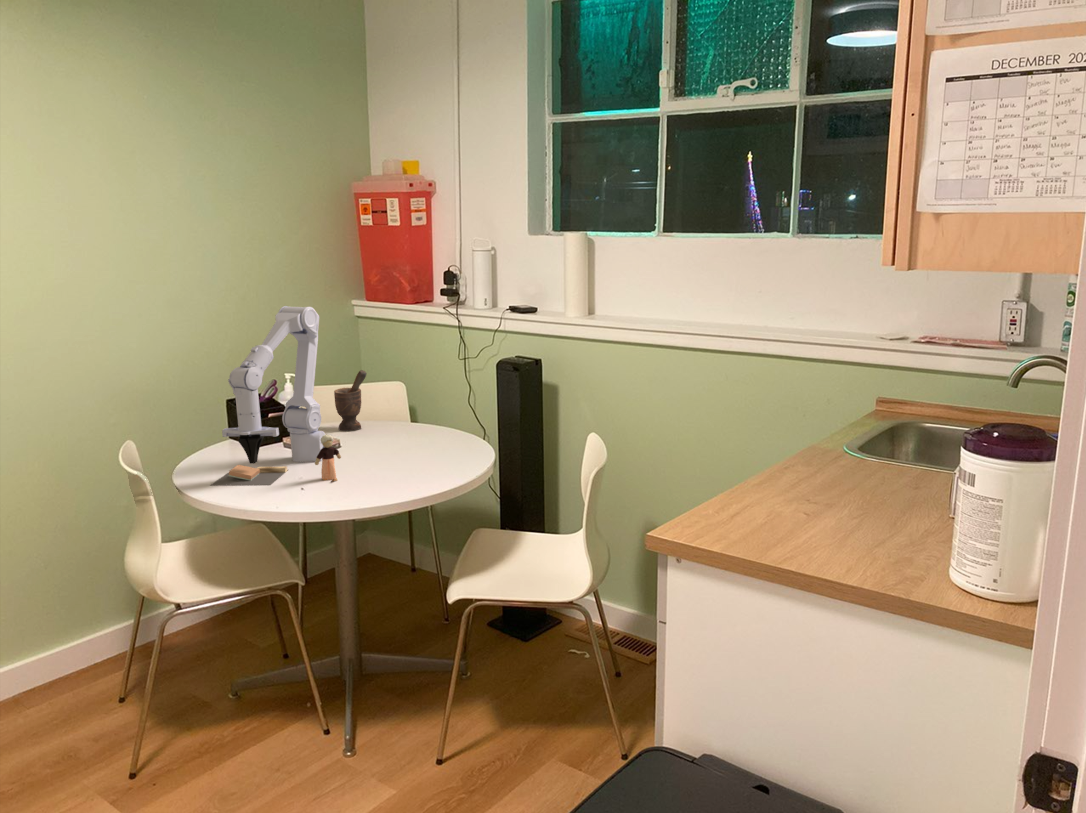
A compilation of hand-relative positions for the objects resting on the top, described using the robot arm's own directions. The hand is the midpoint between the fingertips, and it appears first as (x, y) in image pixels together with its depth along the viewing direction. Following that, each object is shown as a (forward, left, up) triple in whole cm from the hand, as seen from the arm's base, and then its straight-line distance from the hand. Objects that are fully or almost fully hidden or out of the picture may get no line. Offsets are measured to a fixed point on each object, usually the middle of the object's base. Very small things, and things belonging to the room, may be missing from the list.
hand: (253, 462), depth 230 cm
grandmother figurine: (-21, +1, -5) cm, 21 cm away
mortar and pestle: (-12, -56, -5) cm, 57 cm away
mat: (+1, 0, -5) cm, 5 cm away
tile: (0, 0, -3) cm, 3 cm away
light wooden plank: (+1, -5, -4) cm, 7 cm away
